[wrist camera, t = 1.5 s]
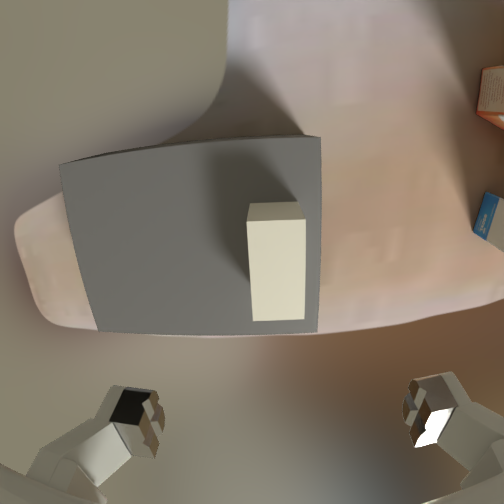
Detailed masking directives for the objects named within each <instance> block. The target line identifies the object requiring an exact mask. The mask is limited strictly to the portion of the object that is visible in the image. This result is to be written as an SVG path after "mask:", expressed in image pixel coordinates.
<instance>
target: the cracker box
mask: <svg viewBox="0 0 504 504" xmlns="http://www.w3.org/2000/svg"><path fill="white" fill-rule="evenodd" d="M476 115H478V116H480V117H482V118H484V119H486V120H487V121H489V122H491V123H492V124H494V125H496V126H498V127H499V128H501V129H502V130H504V65H503V66H495V67H488V68H483V69H482V77H481V85H480V92H479V99H478V105H477V111H476Z"/></svg>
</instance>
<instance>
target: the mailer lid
mask: <svg viewBox="0 0 504 504" xmlns="http://www.w3.org/2000/svg"><path fill="white" fill-rule="evenodd" d="M59 169H60V176H61V183H62V189H63V195H64V201H65V207H66V212H67V217H68V222H69V227H70V231H71V236H72V240H73V245H74V249H75V253H76V257H77V261H78V265H79V269H80V273H81V276H82V280H83V283H84V287H85V290H86V294H87V297H88V300H89V304H90V307H91V310H92V313H93V316H94V319H95V322H96V325H97V328H98V331H102V332H117V333H135V334H160V335H270V334H295V333H314V332H317V328H318V311H319V291H320V265H321V217H322V182H321V137H290V138H261V139H242V140H227V141H214V142H203V143H193V144H183V145H174V146H166V147H158V148H150V149H143V150H136V151H130V152H123V153H117V154H111V155H105V156H100V157H94V158H89V159H84V160H79V161H74V162H69V163H64V164H61V165H59Z"/></svg>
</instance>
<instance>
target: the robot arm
mask: <svg viewBox="0 0 504 504" xmlns="http://www.w3.org/2000/svg"><path fill="white" fill-rule="evenodd" d="M408 389H409V391H410V393H409V394H407V396H405V398H404V401H403V404H402V413H403V418H404V421H405V423H406V424H408V425H409V426H411V429H410V432H409V434H410V437H411V439H412V442H413V445H414V447H418V446H423V445H427V444H431V443H435V442H437V443H436V444H437V445H439V446H440V447H441V448H442V449H443V450H445V451H446V452H447V453H448V454H450V455H451V456H452V457H453V458H454V459H455V460H457V461H458V462H459V463H460V464H461V465H463V466H464V467H465V468H466V469H468V470H469V471H470V473H469V474H468V475H467V476H466V477H465V478H464V480H463V481H462V483H461V484H460V485H461V487H462V490H461V491H458V492H455V493H452V494H450V495H447V496H444V497H441V498H438V499H435V500H432V501H429V502H426V503H422V504H504V417H502V416H500V415H498V414H496V413H495V412H492V411H491V410H489V409H487V408H485V407H484V406H482V405H480V404H478V403H476V402H473V403H472V402H471V400H470V399H469V397H468V395H467V394H466V392H465V390H464V389H463V387H462V386H461V384H460V382H459V381H458V379H457V378H456V376H455V375H454V373H453V372H451V371H450V372H447V373H442V374H438V375H437V374H436V375H432V376H427V377H422V378H417V379H412V381H411V382H410V384H409V386H408ZM158 400H159V396H158V394H157V391H154V390H147V389H139V388H132V387H124V386H117V385H113V386H112V387H110V389H109V391H108V393H107V395H106V397H105V399H104V400H103V402H102V404H101V406H100V408H99V410H98V412H97V414H96V416H95V418H94V419H88V420H87V421H85V422H84V423H82V424H80V425H79V426H77V427H76V428H74V429H72V430H71V431H69V432H67V433H66V434H64V435H62V436H61V437H59V438H57V439H56V440H54V441H53V442H51V443H49V444H47V445H46V446H44V447H42V448H41V449H40V450H39V452H38V454H37V456H36V458H35V459H34V461H33V463H32V465H31V467H30V469H29V471H28V472H27V474H26V476H25V475H23V474H20V473H18V472H16V471H14V470H12V469H10V468H8V467H6V466H4V465H2V464H1V463H0V504H106V503H107V498H106V497H105V495H104V494H103V493H102V492H101V491H100V490H99V489H98V488H97V487H98V486H99V485H100V484H101V483H103V482H104V481H105V480H106V479H107V478H108V477H109V476H111V475H112V474H113V473H114V472H115V471H116V470H117V469H118V468H119V467H121V466H122V465H123V464H124V463H125V462H126V461H127V460H128V459H129V458H130V457H131V455H133V456H139V457H147V458H154V459H155V457H156V454H157V450H158V447H159V444H160V443H159V441H158V439H157V437H158V436H159V435H161V434H162V433H163V430H164V426H165V414H164V410H163V407H162V406H160V405H159V404H158Z"/></svg>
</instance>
